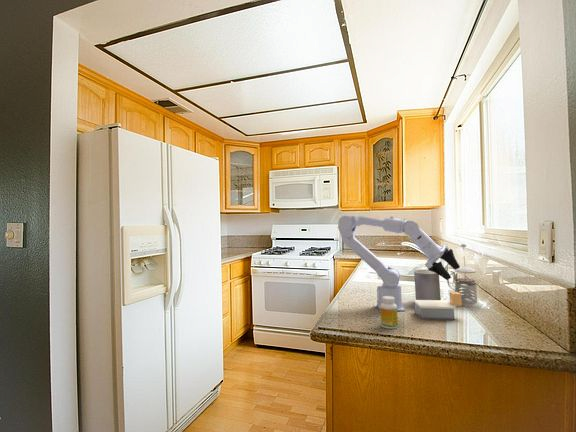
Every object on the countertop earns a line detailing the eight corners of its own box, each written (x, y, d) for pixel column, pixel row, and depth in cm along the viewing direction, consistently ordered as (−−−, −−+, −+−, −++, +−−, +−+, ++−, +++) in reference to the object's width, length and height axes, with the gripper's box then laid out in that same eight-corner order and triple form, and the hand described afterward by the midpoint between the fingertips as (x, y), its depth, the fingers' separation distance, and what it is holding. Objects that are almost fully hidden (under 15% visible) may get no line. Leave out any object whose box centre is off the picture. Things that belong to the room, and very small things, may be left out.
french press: (479, 307, 113) (476, 245, 114) (446, 303, 120) (443, 244, 121) (481, 301, 121) (478, 243, 122) (450, 298, 128) (447, 242, 129)
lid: (420, 308, 102) (419, 295, 102) (413, 301, 110) (413, 290, 110) (465, 309, 99) (464, 296, 99) (455, 302, 108) (454, 290, 108)
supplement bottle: (396, 330, 92) (394, 300, 93) (379, 327, 95) (378, 298, 95) (399, 325, 97) (398, 296, 97) (383, 322, 100) (382, 294, 100)
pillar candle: (427, 299, 127) (425, 265, 128) (446, 304, 118) (444, 268, 119) (410, 302, 124) (408, 267, 124) (428, 308, 115) (426, 270, 115)
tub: (421, 319, 102) (421, 308, 102) (415, 312, 110) (414, 301, 110) (454, 320, 100) (454, 308, 100) (445, 312, 108) (445, 302, 108)
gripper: (424, 249, 104) (453, 279, 100) (442, 232, 112) (469, 259, 108) (412, 257, 110) (438, 286, 106) (430, 240, 117) (455, 266, 114)
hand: (453, 273), depth 107 cm, fingers open, 7 cm apart
